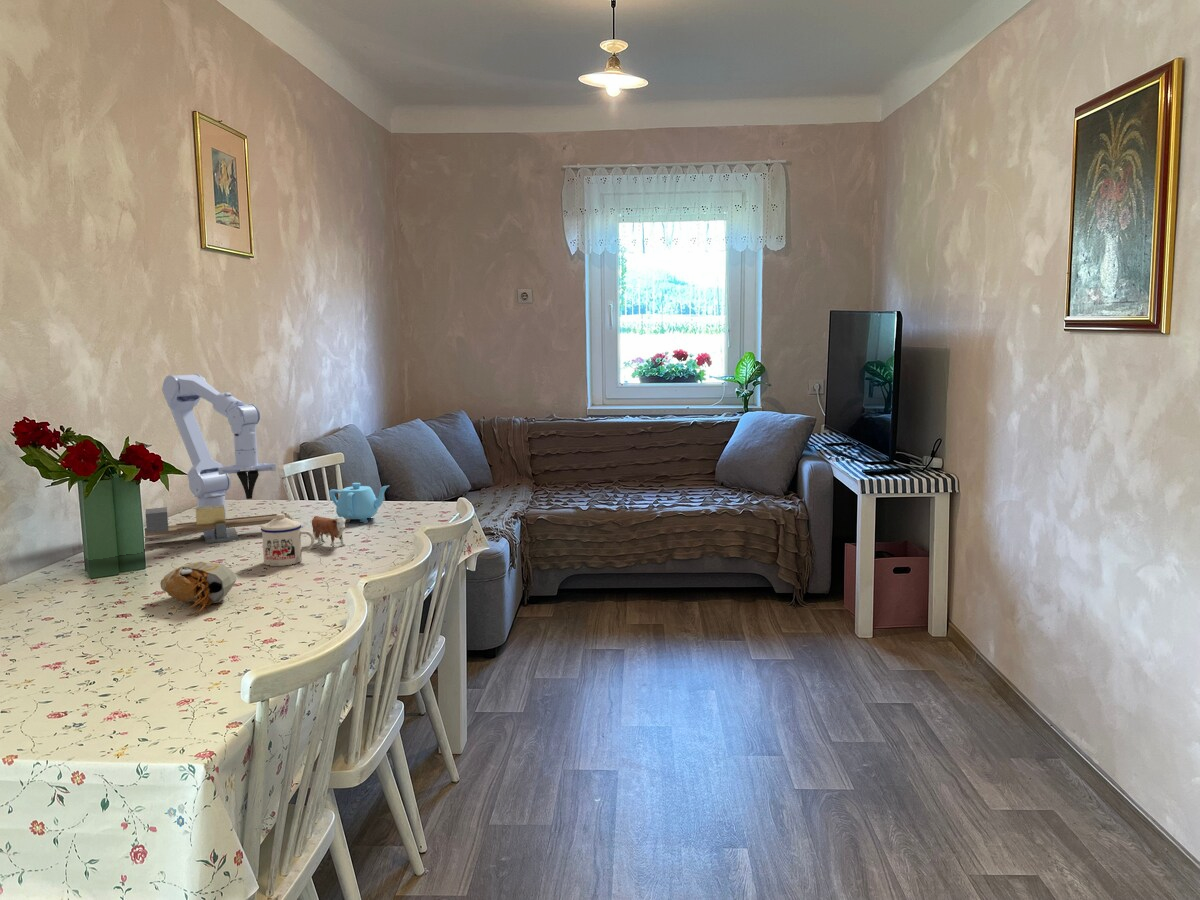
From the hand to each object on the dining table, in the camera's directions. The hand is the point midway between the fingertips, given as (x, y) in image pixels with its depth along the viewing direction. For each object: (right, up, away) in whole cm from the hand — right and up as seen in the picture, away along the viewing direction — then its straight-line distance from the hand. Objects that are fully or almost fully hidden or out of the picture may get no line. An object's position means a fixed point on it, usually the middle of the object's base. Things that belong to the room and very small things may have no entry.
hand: (249, 498), depth 247 cm
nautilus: (+14, -18, -64) cm, 68 cm away
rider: (-8, -7, -6) cm, 12 cm away
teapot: (+27, -7, +15) cm, 32 cm away
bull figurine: (+27, -12, -15) cm, 33 cm away
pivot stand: (-6, -10, -5) cm, 13 cm away
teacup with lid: (+22, -14, -31) cm, 40 cm away
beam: (-6, -7, -5) cm, 10 cm away
